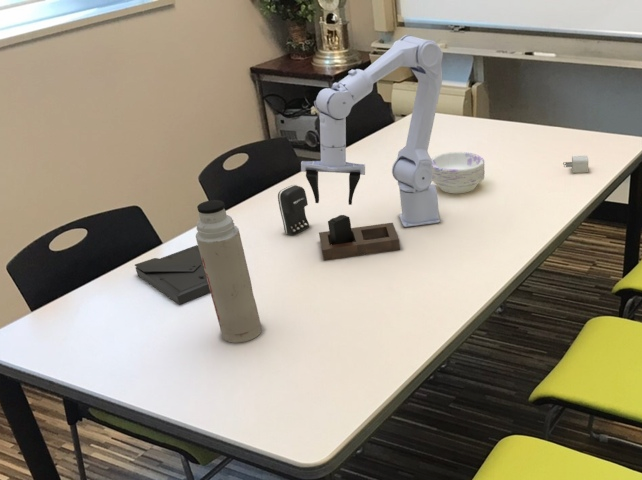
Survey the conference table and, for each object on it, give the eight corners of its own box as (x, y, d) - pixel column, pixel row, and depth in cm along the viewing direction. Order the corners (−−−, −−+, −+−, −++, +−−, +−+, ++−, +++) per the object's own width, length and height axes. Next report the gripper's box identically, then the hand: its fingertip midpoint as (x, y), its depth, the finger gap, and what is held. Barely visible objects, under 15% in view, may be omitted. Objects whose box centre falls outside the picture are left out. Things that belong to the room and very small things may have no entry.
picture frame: (137, 275, 186) (179, 304, 174) (134, 264, 185) (176, 293, 172) (199, 252, 195) (243, 279, 183) (196, 242, 194) (240, 268, 181)
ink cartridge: (347, 243, 196) (343, 213, 192) (353, 246, 195) (349, 215, 190) (332, 250, 193) (327, 220, 189) (338, 253, 192) (333, 222, 187)
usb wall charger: (588, 173, 228) (588, 159, 226) (563, 174, 229) (564, 160, 226) (586, 168, 232) (587, 154, 229) (562, 169, 232) (563, 155, 230)
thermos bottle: (218, 344, 160) (183, 214, 144) (226, 323, 166) (192, 197, 150) (258, 341, 160) (228, 211, 144) (264, 320, 167) (235, 194, 151)
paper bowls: (495, 183, 225) (494, 155, 220) (465, 202, 215) (464, 173, 210) (451, 174, 232) (449, 147, 227) (420, 192, 222) (417, 164, 217)
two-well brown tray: (393, 232, 200) (392, 222, 199) (400, 249, 192) (399, 239, 191) (320, 242, 197) (318, 232, 196) (323, 260, 189) (321, 249, 187)
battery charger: (294, 237, 200) (286, 194, 194) (283, 234, 202) (275, 191, 196) (314, 227, 205) (306, 184, 198) (303, 224, 207) (295, 182, 200)
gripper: (298, 147, 177) (300, 206, 184) (364, 150, 179) (364, 209, 186) (301, 139, 183) (303, 197, 190) (365, 143, 185) (365, 200, 192)
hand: (333, 202), depth 188 cm, fingers open, 7 cm apart
